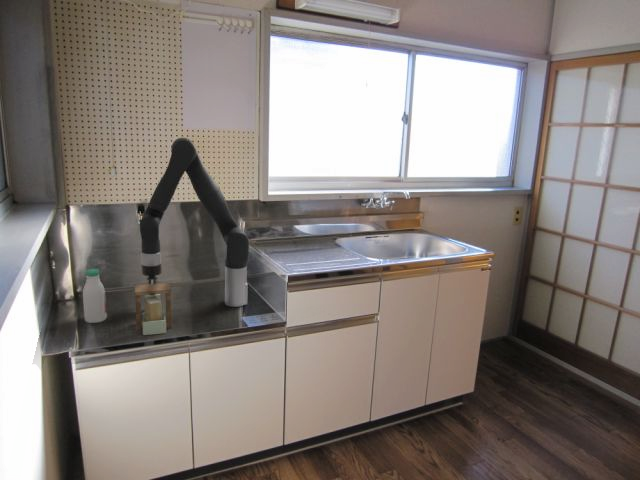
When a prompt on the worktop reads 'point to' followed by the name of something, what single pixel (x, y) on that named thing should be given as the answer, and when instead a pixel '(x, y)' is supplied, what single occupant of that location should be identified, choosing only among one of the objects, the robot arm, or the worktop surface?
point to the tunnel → (153, 290)
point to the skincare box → (152, 309)
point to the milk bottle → (94, 298)
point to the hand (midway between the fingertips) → (152, 302)
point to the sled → (154, 322)
